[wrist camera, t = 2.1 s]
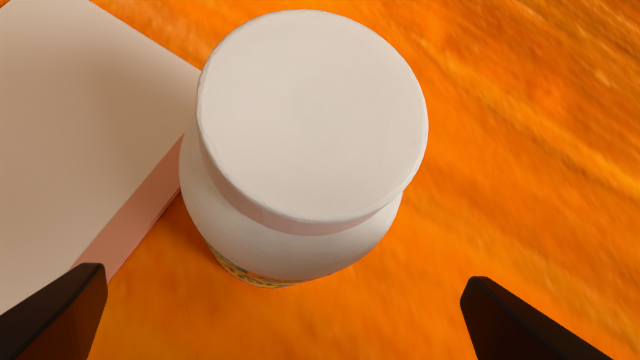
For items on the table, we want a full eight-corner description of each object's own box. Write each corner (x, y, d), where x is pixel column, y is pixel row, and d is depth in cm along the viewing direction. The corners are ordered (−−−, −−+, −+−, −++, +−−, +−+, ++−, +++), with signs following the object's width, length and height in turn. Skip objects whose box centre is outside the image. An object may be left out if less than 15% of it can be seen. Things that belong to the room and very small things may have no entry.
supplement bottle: (357, 195, 22) (502, 64, 10) (304, 314, 19) (413, 336, 7) (246, 137, 21) (254, -71, 9) (177, 250, 19) (67, 163, 7)
